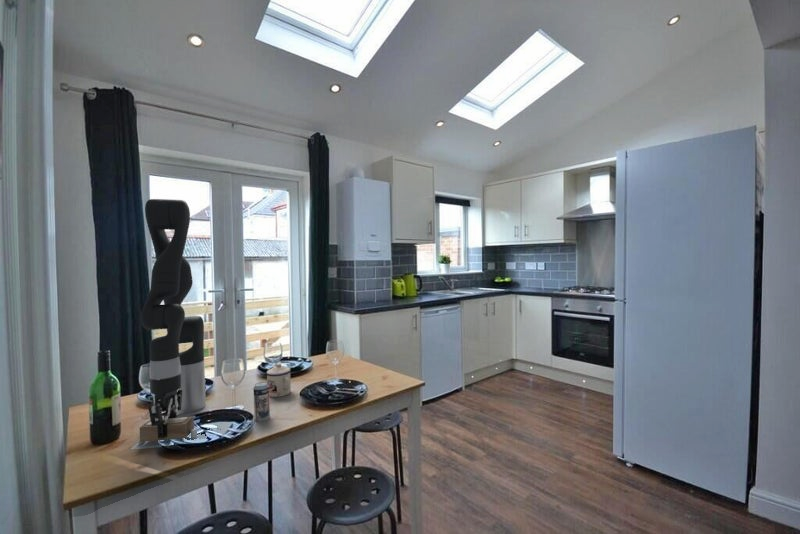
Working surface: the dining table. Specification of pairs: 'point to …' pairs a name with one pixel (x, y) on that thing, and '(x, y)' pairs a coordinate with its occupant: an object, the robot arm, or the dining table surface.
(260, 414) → the beer can
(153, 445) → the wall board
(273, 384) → the teacup with lid
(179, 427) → the brown rectangular block
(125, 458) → the dining table surface
